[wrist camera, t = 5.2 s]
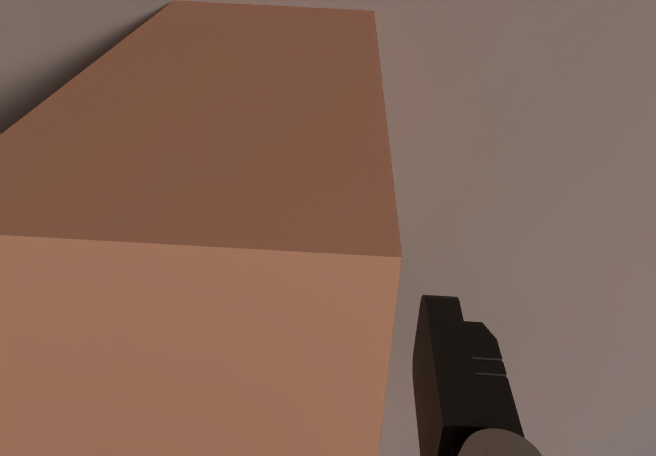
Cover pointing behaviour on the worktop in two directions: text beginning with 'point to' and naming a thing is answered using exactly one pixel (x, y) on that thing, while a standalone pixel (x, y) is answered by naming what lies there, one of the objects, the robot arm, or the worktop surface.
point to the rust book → (203, 243)
